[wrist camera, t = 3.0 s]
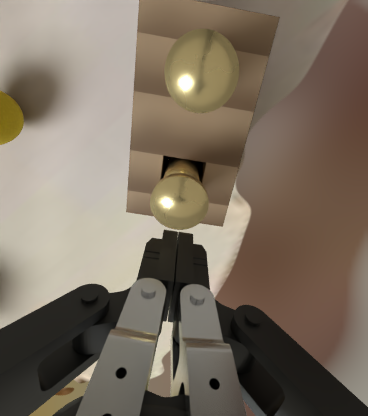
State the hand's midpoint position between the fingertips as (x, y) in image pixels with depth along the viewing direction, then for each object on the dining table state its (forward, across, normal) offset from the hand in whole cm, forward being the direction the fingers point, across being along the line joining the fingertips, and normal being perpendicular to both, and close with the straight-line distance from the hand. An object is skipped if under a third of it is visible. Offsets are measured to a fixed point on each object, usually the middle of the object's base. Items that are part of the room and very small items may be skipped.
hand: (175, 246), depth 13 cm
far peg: (+15, 0, 0) cm, 15 cm away
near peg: (+15, 0, -8) cm, 17 cm away
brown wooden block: (+20, 0, -4) cm, 20 cm away
